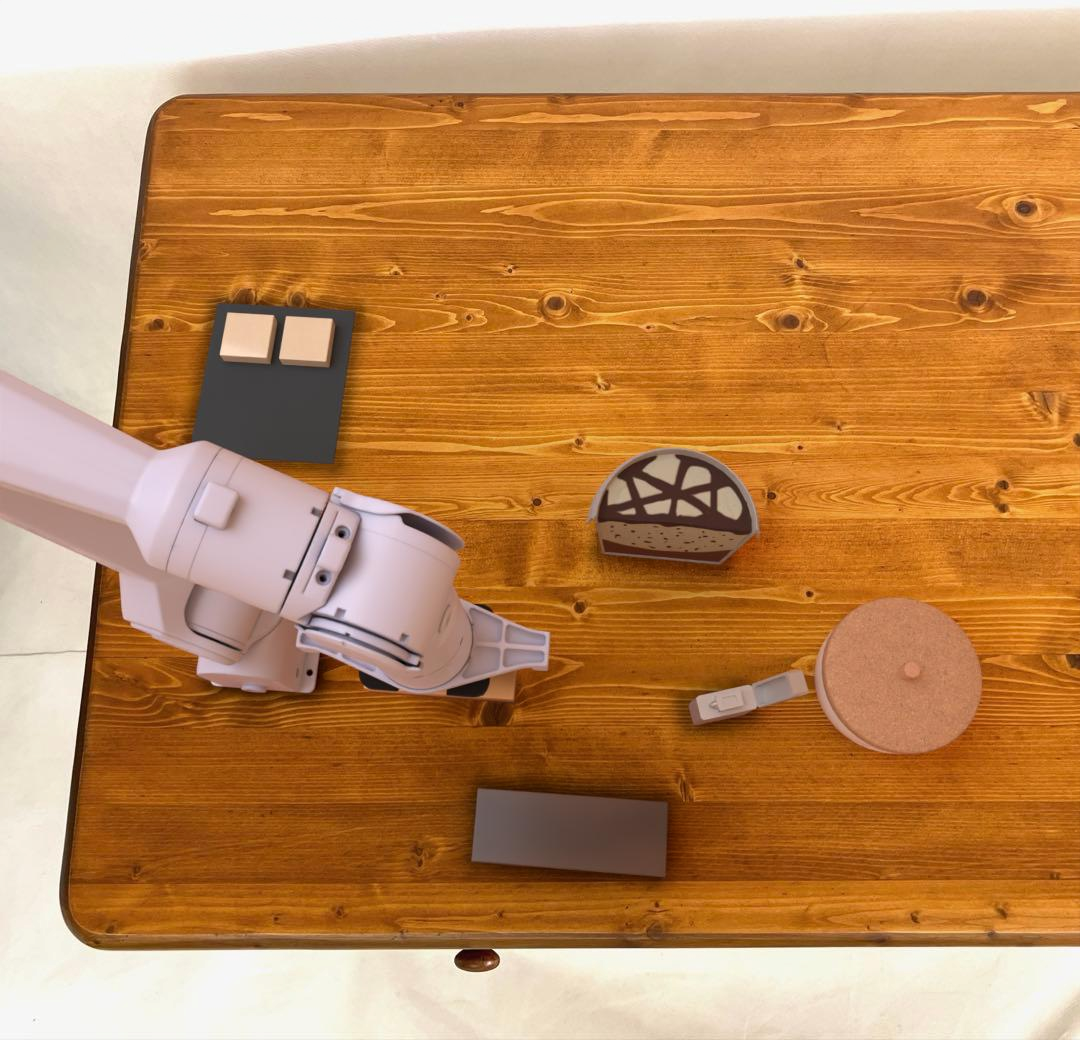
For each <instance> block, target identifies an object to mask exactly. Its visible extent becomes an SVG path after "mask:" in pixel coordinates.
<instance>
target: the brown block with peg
mask: <svg viewBox="0 0 1080 1040" xmlns="http://www.w3.org/2000/svg"><path fill="white" fill-rule="evenodd" d="M518 675H519V670H515V671H511V672H507V673H504V674H500V675H497V676H493V677H490V684H489V687H488V689H487V691H486V693H485V694H484V695H483V696H480V697H460V696H447V695H446V692H447V690H443V691H439V692H436V693H431V694H414V693H409V692H406V691H403V690H401V689H399V691H384V690H372V689H369V688H367V687H365V686H364V685H363V689H364V690H366V692H368V693H370V694H379V695H380V694H381V695H393V696H406V697H419V698H420V697H421V698H433V699H445V700H459V701H461V700H462V701H472V702H473V701H474V702H485V703H486V702H488V703H500V704H501V703H502V704H513V705H514V704H516V700H517V699H516V698H517V688H518V687H517V686H518Z"/></svg>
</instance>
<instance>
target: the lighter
mask: <svg viewBox="0 0 1080 1040" xmlns="http://www.w3.org/2000/svg"><path fill="white" fill-rule="evenodd" d="M808 694H809V688H808V684H807V681H806V678H805V674H804V671H803V670H802V669H795V670H789V671H785V672H782V673H778V674H776V675H773V676H770V677H767V678H765V679H762V680H759V681H756V682H753V683H752V685H750V684H746V685H741V686H737V687H732V688H727V689H724V690H718V691H714V692H709V693H705V694H700V695H698V696H696V697H695V698H694V699H692V700H691V701H690V702H689V704H688V705H687V706H688V710H689V714H690V718H691V721H692V722H691V723H692V724H693V725H694V726H700V725H704V724H709V723H713V722H714V723H715V722H718V721H723V720H727V719H731V718H732V719H733V718H736V717H740V716H745V715H747V714H748V713H750V712H752V711H754V710H756V709H757V707H758V708H759V709H760V708H766V707H771V706H775V705H778V704H781V703H784V702H787V701H791V700H794V699H797V698H800V697H803V696H806V695H808Z"/></svg>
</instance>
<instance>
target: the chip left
mask: <svg viewBox="0 0 1080 1040" xmlns="http://www.w3.org/2000/svg"><path fill="white" fill-rule="evenodd" d="M276 328H277V320H276V318H275V316H274V315H261V314H244V313H227V318H226V323H225V329H224V334H223V340H222V345H221V350H220V356H221V358H222V359H223V360H224V361H229V362H246V363H262V364H270V363H271V358H272V352H273V346H274V340H275V334H276Z"/></svg>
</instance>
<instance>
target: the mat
mask: <svg viewBox="0 0 1080 1040" xmlns="http://www.w3.org/2000/svg"><path fill="white" fill-rule="evenodd" d="M216 303H217V304H216V310H215V315H214V320H213V325H212V329H211V335H210V341H209V346H208V351H207V357H206V361H205V368H204V372H203V377H202V383H201V389H200V394H199V399H198V404H197V409H196V414H195V419H194V425H193V431H192V435H191V441H190V443H193V442H197V441H208V442H210V443H213V444H215V445H218V446H220V447H222V448H225V449H227V450H229V451H232V452H234V453H236V454H239V455H241V456H243V457H245V458H248V459H250V460H264V461H278V462H280V461H281V462H295V463H311V464H326V465H334V463H335V458H336V451H337V443H338V436H339V430H340V422H341V417H342V415H341V414H342V408H343V402H344V395H345V388H346V382H347V375H348V374H347V373H348V366H349V360H350V353H351V346H352V339H353V332H354V325H355V318H356V310H347V309H332V308H317V307H316V308H313V307H298V306H297V307H296V306H283V305H282V306H280V305H263V304H262V305H261V304H247V303H246V304H245V303H229V302H216ZM227 313H244V314H261V315H274V316H275V318H276V320H277V328H276V334H275V340H274V346H273V352H272V358H271V363H270V364H262V363H246V362H229V361H224V360H223V359H222V358H221V356H220V350H221V345H222V340H223V334H224V329H225V323H226V318H227ZM286 316H293V317H310V318H327V319H333V321H334V323H335V332H334V339H333V345H332V352H331V359H330V365H329V367H313V366H297V365H283V364H282V363H281V361H280V359H279V356H280V350H281V344H282V338H283V332H284V326H285V320H286Z"/></svg>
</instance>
